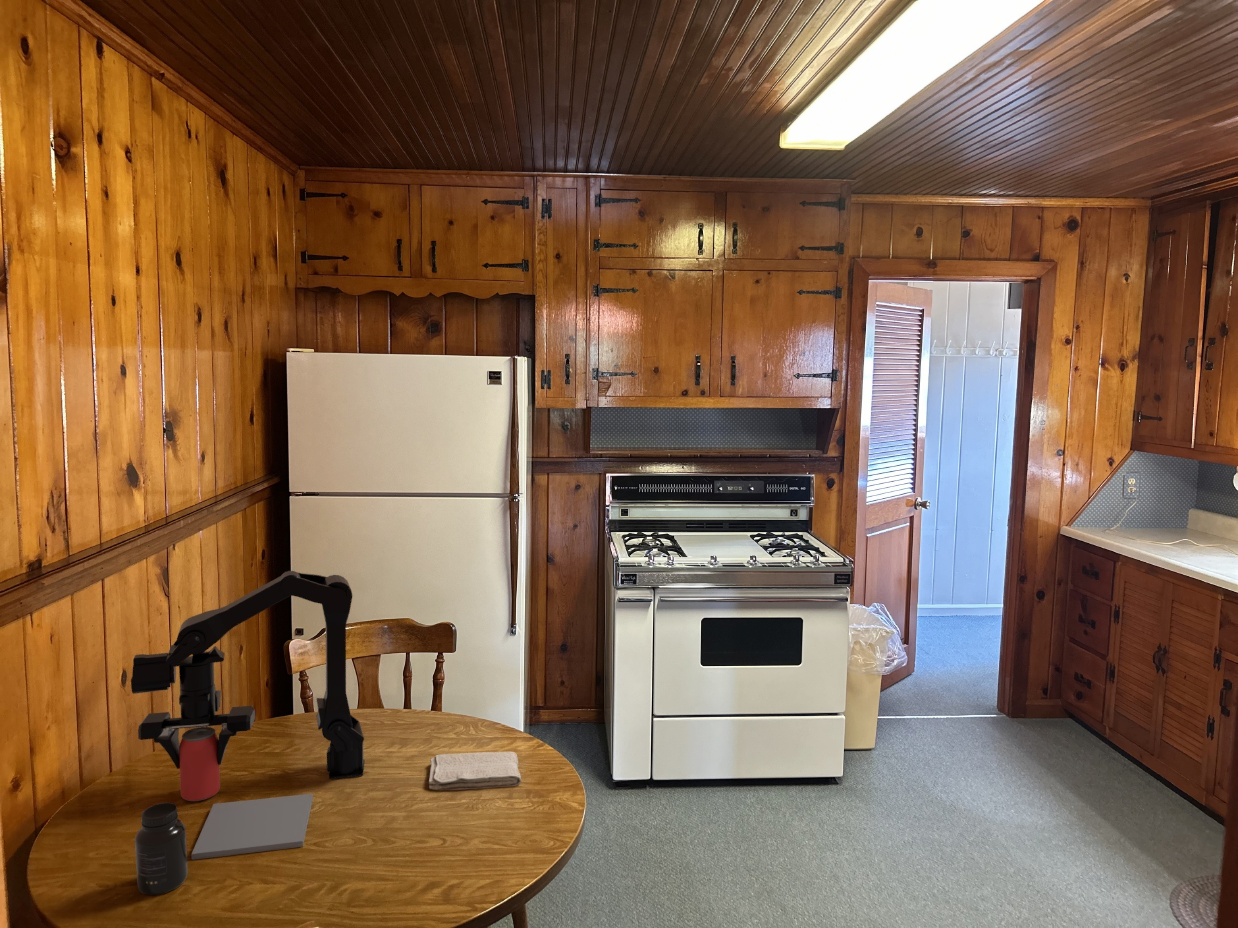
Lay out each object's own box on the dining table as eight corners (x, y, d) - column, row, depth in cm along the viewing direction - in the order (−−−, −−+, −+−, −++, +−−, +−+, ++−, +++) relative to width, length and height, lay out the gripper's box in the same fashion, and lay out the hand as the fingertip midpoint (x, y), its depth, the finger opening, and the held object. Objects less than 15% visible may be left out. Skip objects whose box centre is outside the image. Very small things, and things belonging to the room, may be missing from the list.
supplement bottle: (150, 869, 128) (147, 798, 127) (195, 868, 129) (192, 797, 127) (128, 897, 121) (125, 822, 120) (175, 896, 122) (172, 821, 121)
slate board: (312, 798, 151) (312, 793, 151) (302, 846, 136) (302, 840, 135) (213, 808, 146) (213, 803, 146) (191, 859, 131) (191, 853, 131)
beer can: (227, 786, 154) (225, 726, 153) (206, 804, 148) (204, 741, 146) (195, 783, 155) (193, 724, 154) (172, 801, 148) (170, 739, 147)
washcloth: (430, 765, 166) (430, 751, 166) (517, 759, 169) (517, 745, 169) (428, 794, 154) (428, 779, 154) (521, 788, 158) (521, 773, 157)
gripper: (258, 666, 159) (260, 742, 161) (154, 673, 154) (156, 751, 156) (248, 687, 149) (250, 768, 150) (135, 695, 144) (139, 778, 145)
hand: (199, 765), depth 151 cm, fingers closed on beer can, 7 cm apart
